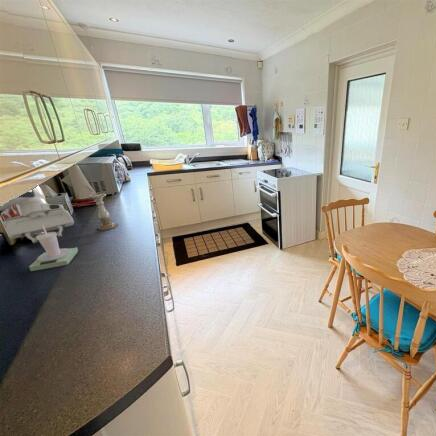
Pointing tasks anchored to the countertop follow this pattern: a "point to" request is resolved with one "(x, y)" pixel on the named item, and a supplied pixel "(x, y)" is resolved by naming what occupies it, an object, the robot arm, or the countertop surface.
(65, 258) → the scale
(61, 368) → the countertop surface
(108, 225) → the candle holder
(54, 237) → the smoothie
